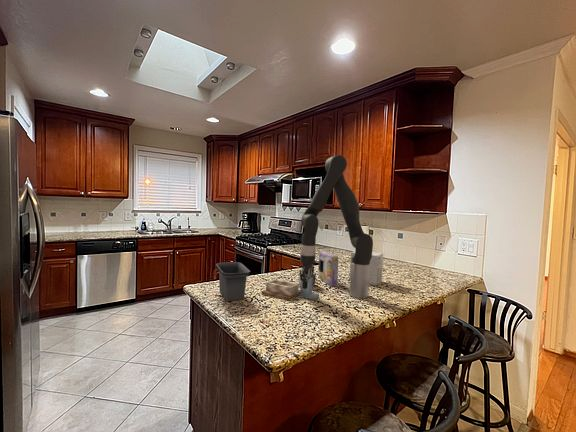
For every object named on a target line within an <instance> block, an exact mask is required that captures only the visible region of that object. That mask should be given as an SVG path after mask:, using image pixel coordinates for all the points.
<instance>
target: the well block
mask: <svg viewBox="0 0 576 432" xmlns="http://www.w3.org/2000/svg"><path fill="white" fill-rule="evenodd" d="M265 284H266V286H265V289H263V290H262V291H261V295H264V296H268V297H273V298H277V299H281V300H283V301H289V302H290V301H291V300H293V299H294V298H296V297H298V296H300V285H299V283H297V282H296V283H295V282H291V281H286V280H282V279H276V278H273V279H272V280H270V281H267V282H266V283H265Z"/></svg>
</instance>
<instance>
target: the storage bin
mask: <svg viewBox="0 0 576 432" xmlns="http://www.w3.org/2000/svg"><path fill="white" fill-rule="evenodd" d="M215 266H216V269H214V271H213V279H214V280H216V279H217V275H218V277H219V279H218V280H219V281H218V282H219V283H218V284H219V291H220V292H221V294H222V296H223V297H224V299H225V301H227V302H234V301H235V302H237V301H243V300H244V299H245V294H246V285H247V278H248V277H249V276H250V272H251V270H249V268H247V266H245V265H244V264H243V263H242V262H238V261H230V262H228V261H227V262H219V263H218V262H217V263H216V264H215ZM217 271H218V272H217Z"/></svg>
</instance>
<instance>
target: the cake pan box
mask: <svg viewBox="0 0 576 432" xmlns="http://www.w3.org/2000/svg"><path fill="white" fill-rule="evenodd" d="M317 266H318V279H319V280H320V281H323V282H324V283H326V284H327V285H329V286H330V287H338V283H339V282H338V281H339V279H338V278H339V255H336V254H334V253H332V252H328V251H326V250H321V251H318V265H317Z"/></svg>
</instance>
